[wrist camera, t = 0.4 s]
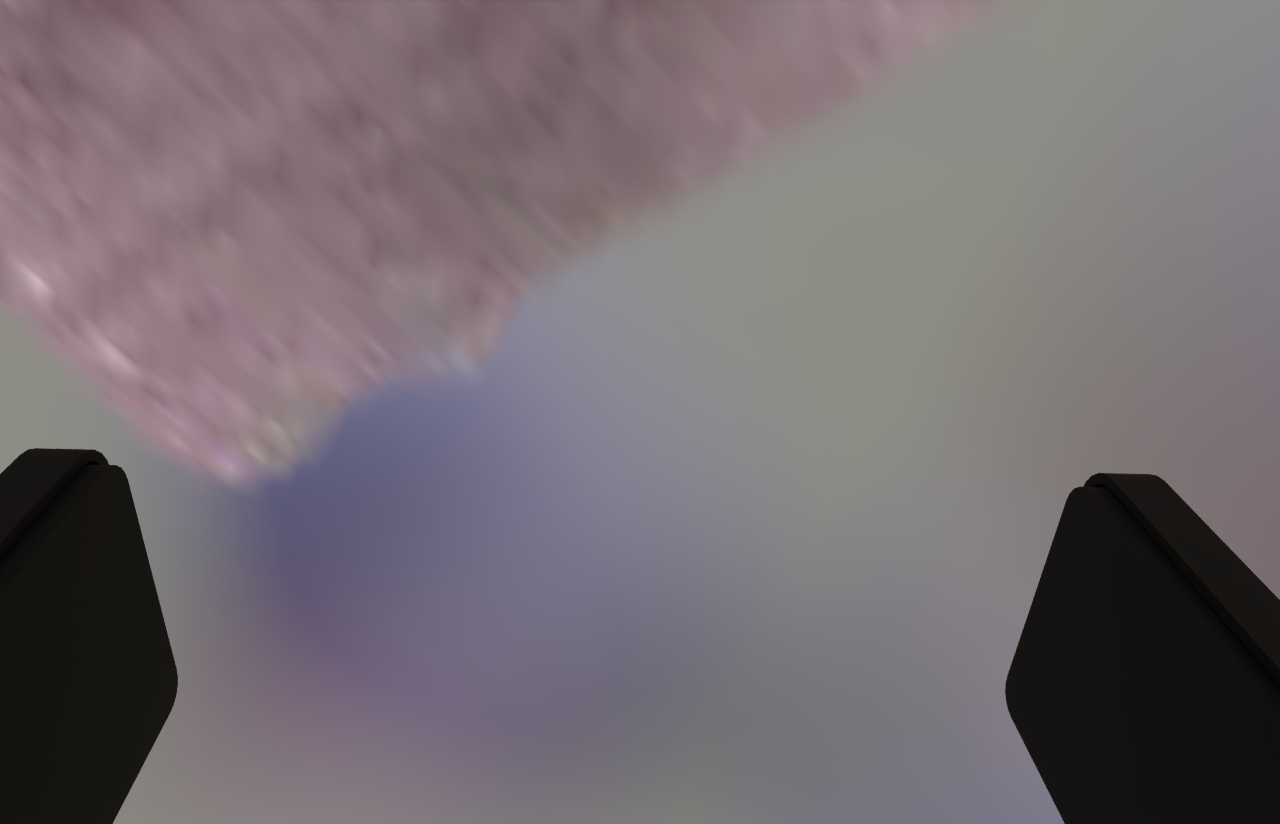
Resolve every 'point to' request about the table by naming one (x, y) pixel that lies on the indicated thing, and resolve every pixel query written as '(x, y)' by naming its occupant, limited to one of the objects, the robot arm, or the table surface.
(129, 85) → the table surface
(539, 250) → the table surface
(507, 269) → the table surface
